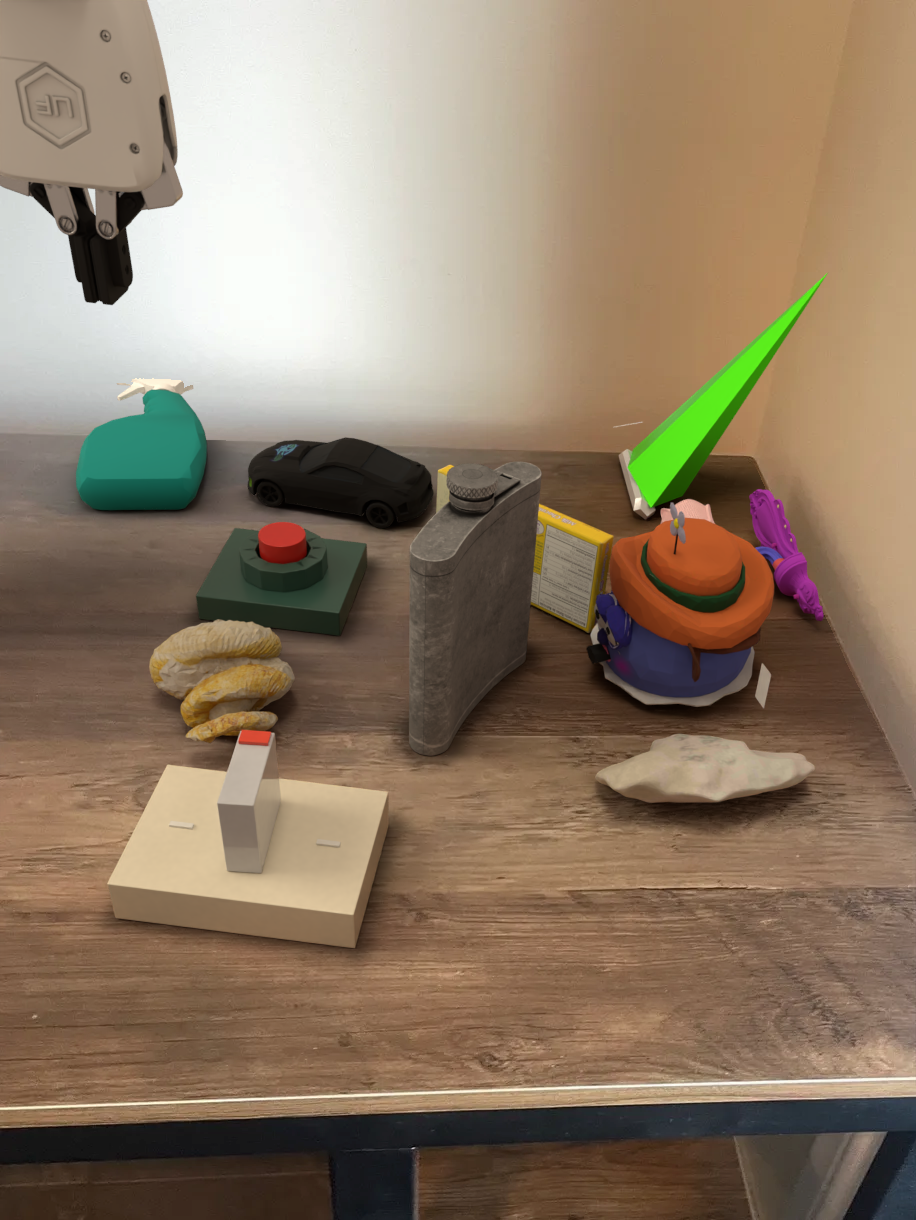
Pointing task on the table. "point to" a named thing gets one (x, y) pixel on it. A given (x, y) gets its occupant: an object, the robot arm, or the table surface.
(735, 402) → the paper cone
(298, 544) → the button
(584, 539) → the candy box
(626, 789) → the stone tool
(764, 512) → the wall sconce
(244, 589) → the button box
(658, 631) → the toy
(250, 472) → the toy car
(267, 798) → the tap handle
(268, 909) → the block
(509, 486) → the flask
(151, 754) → the table surface
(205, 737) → the cream yellow lumpy piece
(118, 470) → the spray bottle
